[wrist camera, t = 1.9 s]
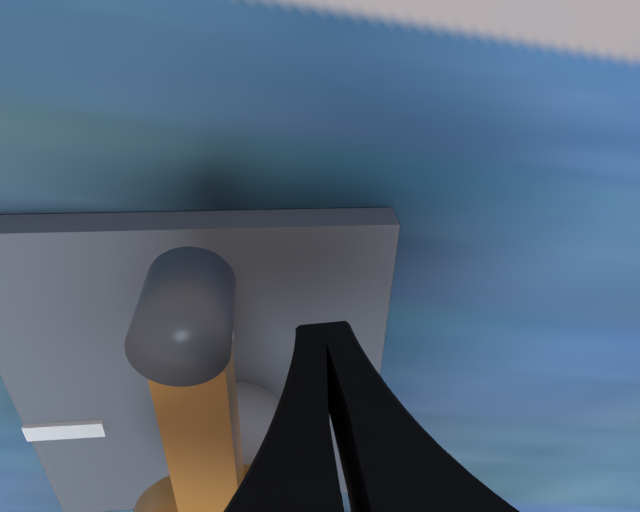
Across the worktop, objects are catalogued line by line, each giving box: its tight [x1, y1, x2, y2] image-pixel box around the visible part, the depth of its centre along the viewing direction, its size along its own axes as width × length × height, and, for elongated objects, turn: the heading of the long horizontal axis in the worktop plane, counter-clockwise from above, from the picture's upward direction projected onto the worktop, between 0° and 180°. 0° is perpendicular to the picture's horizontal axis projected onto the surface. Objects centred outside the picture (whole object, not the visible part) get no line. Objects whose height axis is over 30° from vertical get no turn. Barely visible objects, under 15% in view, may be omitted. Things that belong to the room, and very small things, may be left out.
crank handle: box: [124, 246, 251, 512], centre depth 14 cm, size 14×6×3 cm, turn 178°
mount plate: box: [0, 207, 400, 512], centre depth 18 cm, size 15×14×5 cm
